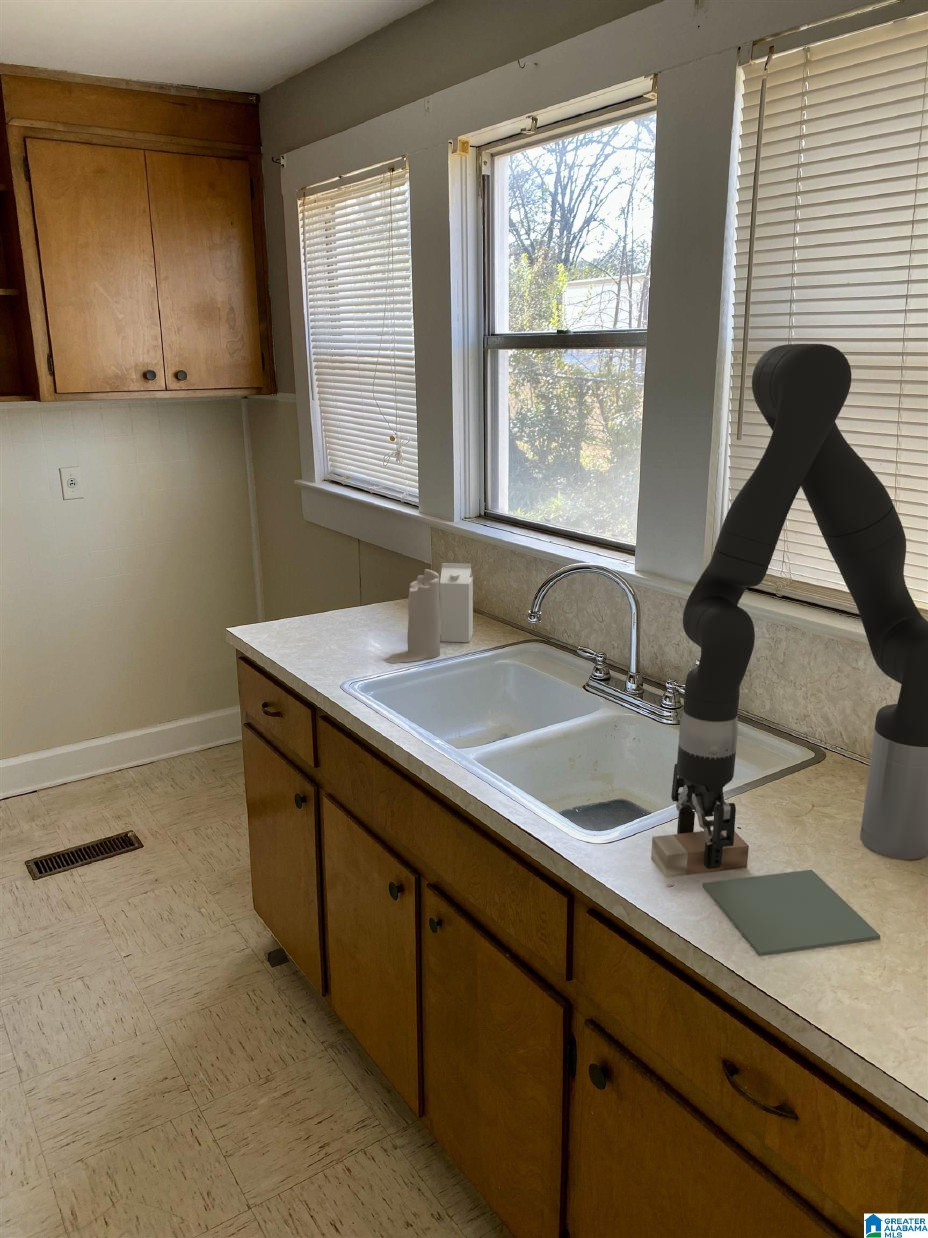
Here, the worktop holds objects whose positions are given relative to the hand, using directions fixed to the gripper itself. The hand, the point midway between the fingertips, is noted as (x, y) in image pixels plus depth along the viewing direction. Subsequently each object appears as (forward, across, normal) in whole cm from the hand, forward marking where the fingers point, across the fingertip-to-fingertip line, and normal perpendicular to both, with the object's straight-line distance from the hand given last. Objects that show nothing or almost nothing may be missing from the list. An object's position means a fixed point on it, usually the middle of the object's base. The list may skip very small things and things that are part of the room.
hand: (698, 851), depth 127 cm
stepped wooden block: (+2, 0, 0) cm, 2 cm away
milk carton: (+2, +109, +13) cm, 110 cm away
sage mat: (+2, -13, -6) cm, 15 cm away
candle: (+2, +97, +26) cm, 100 cm away
